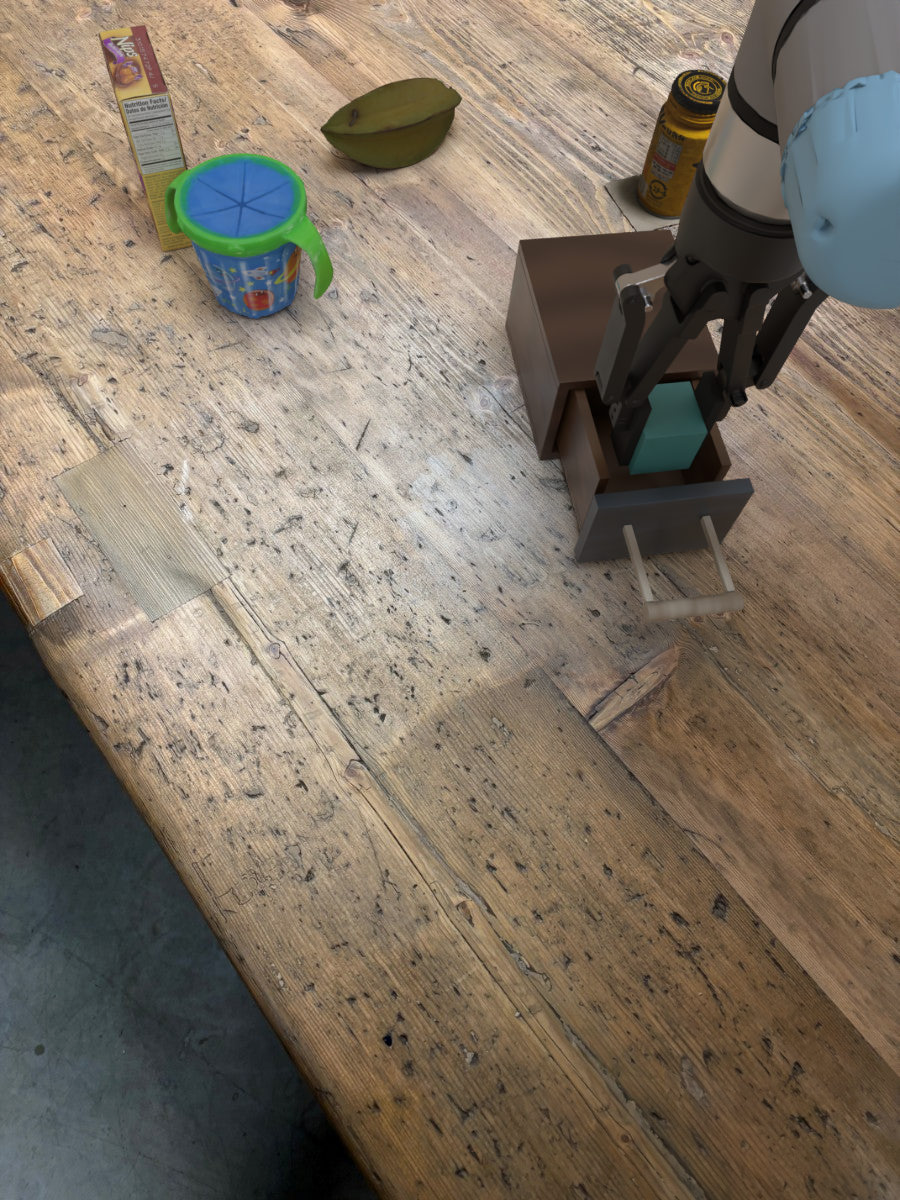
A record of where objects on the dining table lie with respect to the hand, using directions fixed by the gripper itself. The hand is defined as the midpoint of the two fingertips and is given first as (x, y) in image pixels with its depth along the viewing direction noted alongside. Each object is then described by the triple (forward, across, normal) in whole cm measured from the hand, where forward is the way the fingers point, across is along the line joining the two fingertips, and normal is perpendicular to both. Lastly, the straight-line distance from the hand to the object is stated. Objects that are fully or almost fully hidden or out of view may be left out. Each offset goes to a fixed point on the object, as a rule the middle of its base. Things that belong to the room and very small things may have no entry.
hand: (653, 446), depth 69 cm
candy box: (+8, +35, -36) cm, 51 cm away
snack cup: (+8, +28, -26) cm, 39 cm away
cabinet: (+8, 0, -12) cm, 15 cm away
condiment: (+8, -12, -34) cm, 37 cm away
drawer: (+7, 0, +2) cm, 7 cm away
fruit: (+8, +13, -44) cm, 47 cm away
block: (0, 0, 0) cm, 0 cm away
